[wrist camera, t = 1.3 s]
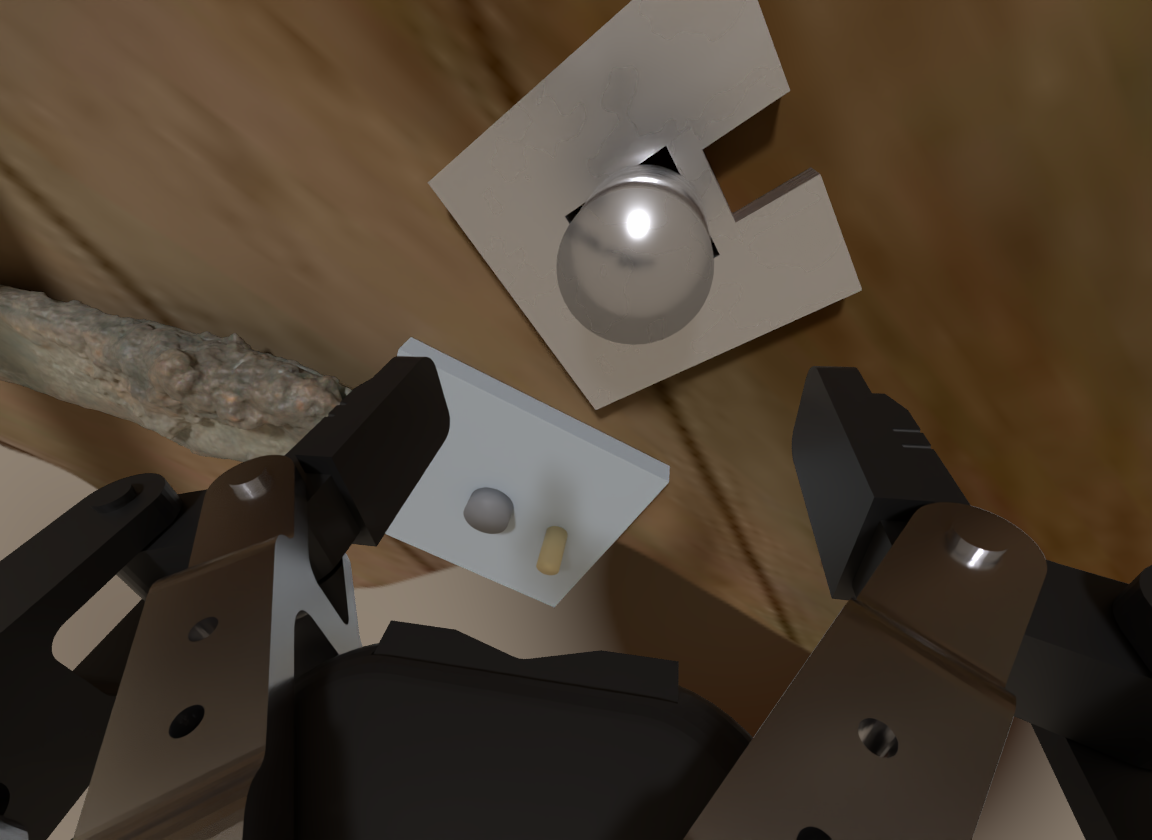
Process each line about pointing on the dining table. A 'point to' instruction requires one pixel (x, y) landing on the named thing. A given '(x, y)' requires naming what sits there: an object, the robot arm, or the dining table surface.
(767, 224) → the flange plate
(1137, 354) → the dining table surface
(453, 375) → the base plate
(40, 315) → the long grey stone
